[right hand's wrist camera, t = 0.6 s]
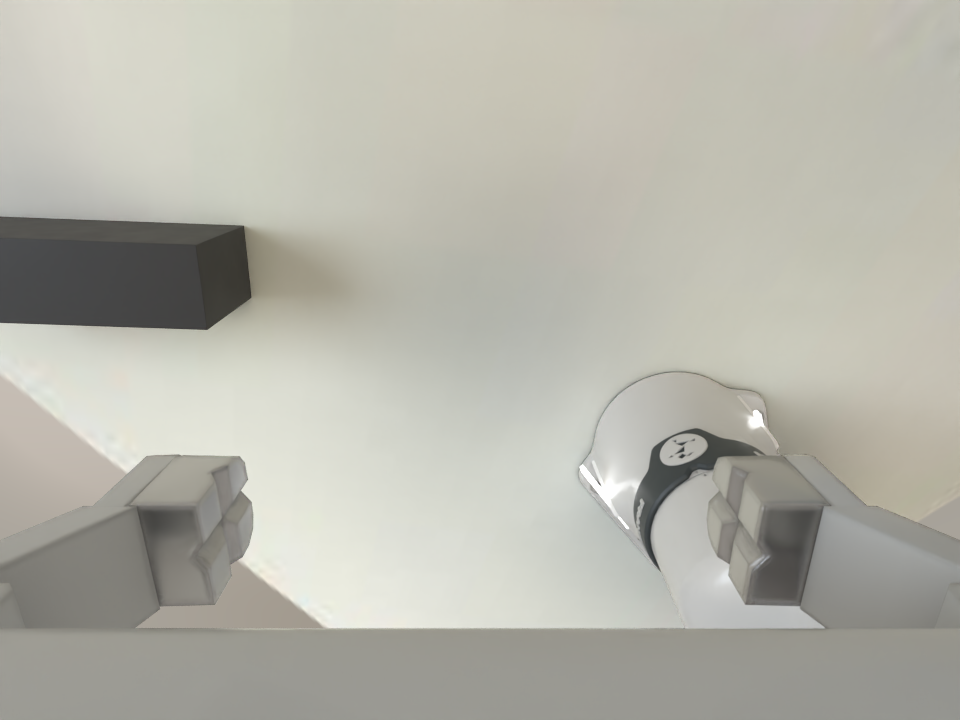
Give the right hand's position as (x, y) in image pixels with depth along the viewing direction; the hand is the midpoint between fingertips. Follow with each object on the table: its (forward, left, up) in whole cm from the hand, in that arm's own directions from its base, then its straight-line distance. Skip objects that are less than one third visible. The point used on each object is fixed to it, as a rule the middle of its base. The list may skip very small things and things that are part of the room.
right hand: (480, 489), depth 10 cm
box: (+11, +30, -42) cm, 53 cm away
